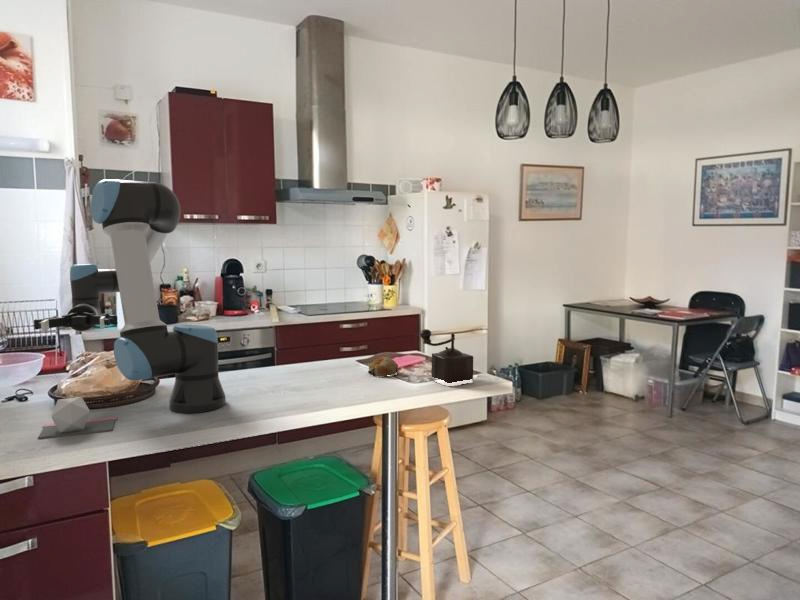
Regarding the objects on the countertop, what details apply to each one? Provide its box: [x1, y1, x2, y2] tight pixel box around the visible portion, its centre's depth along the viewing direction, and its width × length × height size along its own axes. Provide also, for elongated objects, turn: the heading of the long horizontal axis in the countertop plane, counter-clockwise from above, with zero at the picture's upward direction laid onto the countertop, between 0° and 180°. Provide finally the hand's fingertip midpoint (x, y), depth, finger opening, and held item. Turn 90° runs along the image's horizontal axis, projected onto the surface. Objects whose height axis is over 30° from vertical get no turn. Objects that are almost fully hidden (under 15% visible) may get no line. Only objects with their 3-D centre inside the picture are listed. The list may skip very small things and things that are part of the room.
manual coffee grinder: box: [419, 328, 474, 383], centre depth 193 cm, size 16×11×18 cm
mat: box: [37, 420, 116, 440], centre depth 145 cm, size 16×8×1 cm, turn 112°
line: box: [42, 416, 119, 428], centre depth 151 cm, size 17×2×1 cm, turn 112°
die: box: [51, 396, 90, 433], centre depth 143 cm, size 8×9×10 cm
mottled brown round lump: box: [367, 356, 398, 377], centre depth 204 cm, size 10×10×8 cm
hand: (72, 325), depth 153 cm, fingers open, 13 cm apart
